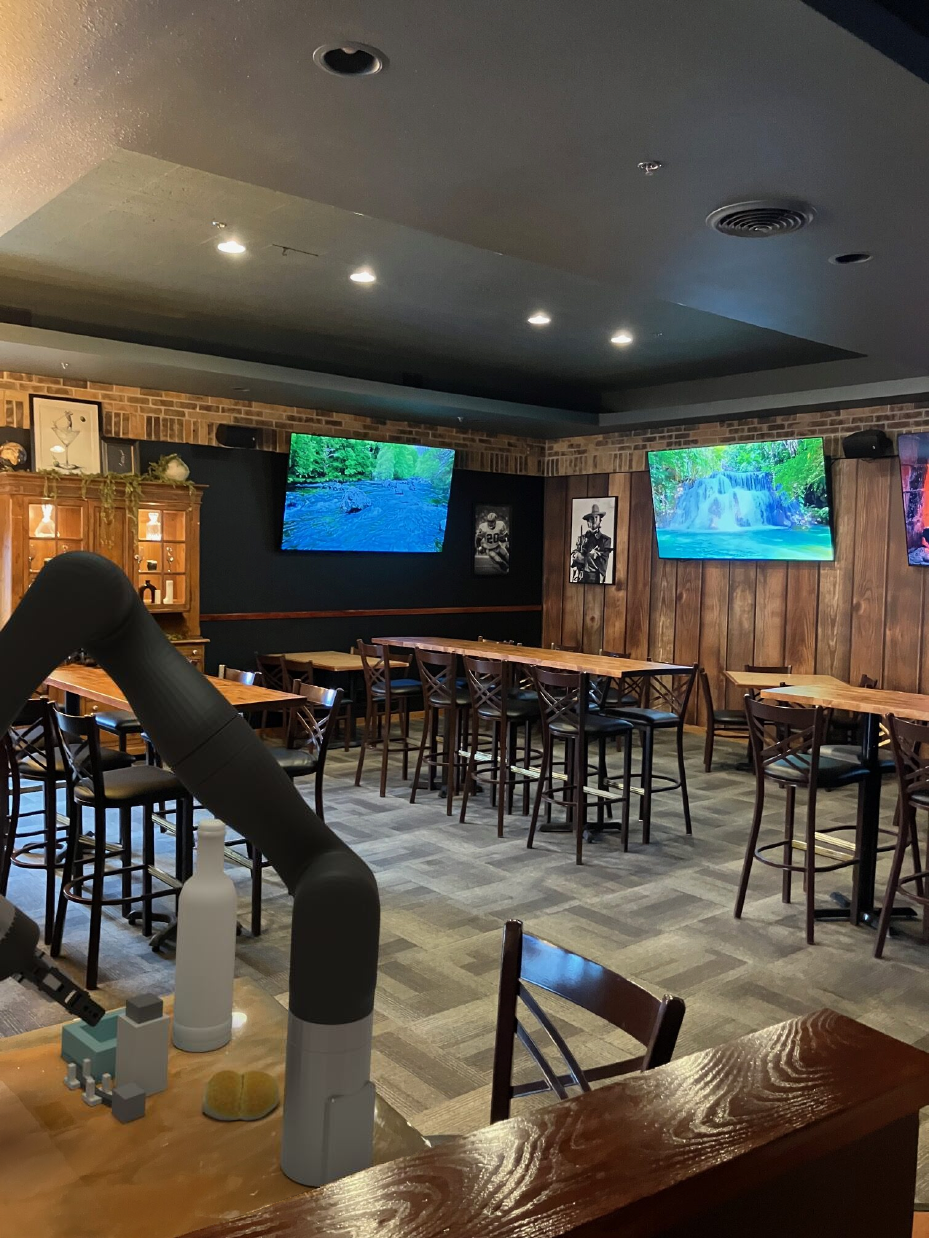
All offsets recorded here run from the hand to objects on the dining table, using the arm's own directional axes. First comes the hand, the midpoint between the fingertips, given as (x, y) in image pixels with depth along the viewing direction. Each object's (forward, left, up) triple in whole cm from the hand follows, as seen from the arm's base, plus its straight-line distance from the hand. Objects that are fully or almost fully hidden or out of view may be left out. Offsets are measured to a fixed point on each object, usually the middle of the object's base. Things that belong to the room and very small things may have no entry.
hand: (81, 1006), depth 114 cm
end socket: (+9, -9, -12) cm, 18 cm away
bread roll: (-11, -15, -13) cm, 22 cm away
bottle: (+7, -21, -13) cm, 25 cm away
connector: (0, -8, -12) cm, 15 cm away
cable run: (+1, -3, -12) cm, 13 cm away
